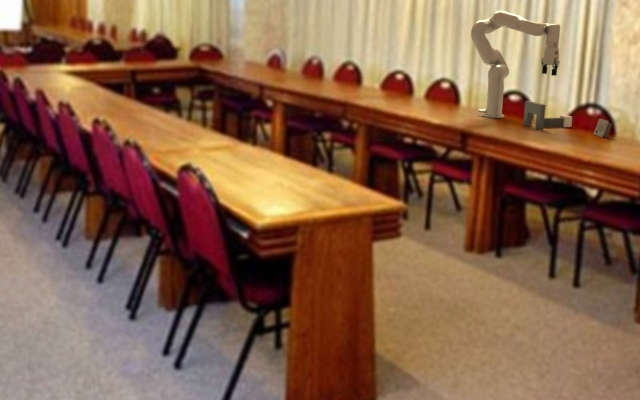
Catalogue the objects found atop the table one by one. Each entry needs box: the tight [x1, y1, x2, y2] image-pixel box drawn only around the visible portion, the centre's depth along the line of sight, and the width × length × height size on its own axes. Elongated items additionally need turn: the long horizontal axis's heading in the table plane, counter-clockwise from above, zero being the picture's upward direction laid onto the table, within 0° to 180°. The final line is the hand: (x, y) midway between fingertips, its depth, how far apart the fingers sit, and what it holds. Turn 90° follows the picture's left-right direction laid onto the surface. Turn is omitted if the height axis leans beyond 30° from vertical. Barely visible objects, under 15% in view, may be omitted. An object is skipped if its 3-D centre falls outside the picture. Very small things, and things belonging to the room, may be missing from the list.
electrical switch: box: [593, 118, 613, 138], centre depth 475 cm, size 9×5×9 cm, turn 10°
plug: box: [543, 114, 573, 128], centre depth 503 cm, size 18×5×6 cm, turn 110°
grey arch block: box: [522, 100, 546, 130], centre depth 497 cm, size 3×16×14 cm, turn 20°
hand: (549, 74), depth 512 cm, fingers open, 9 cm apart
